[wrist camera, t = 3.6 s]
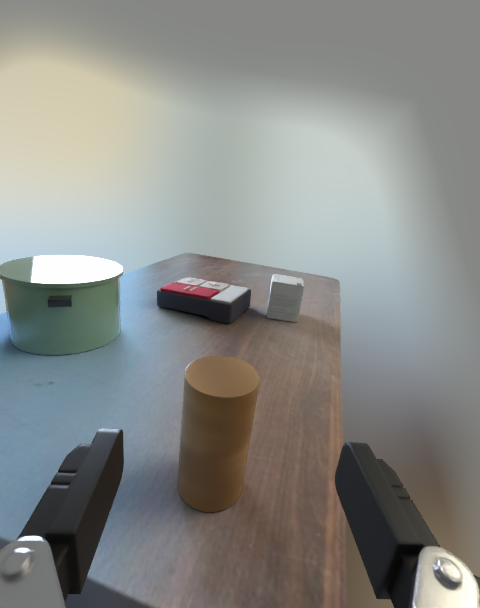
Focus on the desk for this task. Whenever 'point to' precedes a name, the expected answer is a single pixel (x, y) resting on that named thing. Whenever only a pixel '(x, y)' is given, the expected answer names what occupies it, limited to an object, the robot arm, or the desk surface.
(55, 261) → the pot
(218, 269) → the desk surface
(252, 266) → the desk surface
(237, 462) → the tall wooden cylinder
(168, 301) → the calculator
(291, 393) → the desk surface
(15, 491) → the desk surface
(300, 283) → the white cardboard box
